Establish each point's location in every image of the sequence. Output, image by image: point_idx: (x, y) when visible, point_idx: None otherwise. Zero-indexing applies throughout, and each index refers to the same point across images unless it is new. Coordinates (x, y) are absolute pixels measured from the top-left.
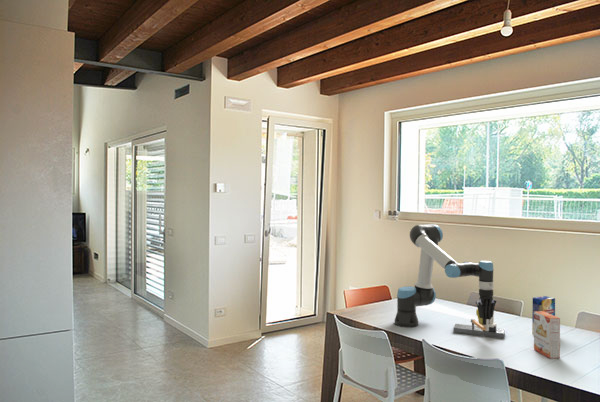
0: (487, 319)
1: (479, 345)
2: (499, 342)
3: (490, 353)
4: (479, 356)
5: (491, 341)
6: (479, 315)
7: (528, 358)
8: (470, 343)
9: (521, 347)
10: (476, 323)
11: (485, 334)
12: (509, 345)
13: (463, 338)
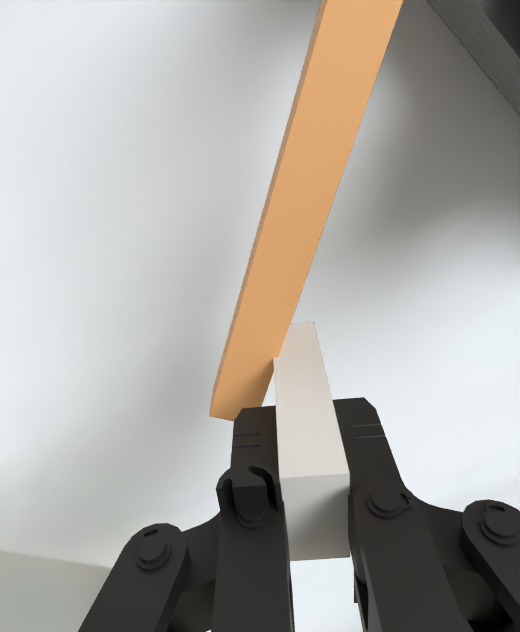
0: (310, 559)
1: (153, 344)
2: (428, 314)
3: (134, 512)
4: (15, 537)
5: (373, 264)
6: (99, 610)
7: (328, 610)
8: (88, 267)
9: (490, 464)
10: (299, 96)
11: (482, 46)
12: (441, 406)
13: (90, 45)
